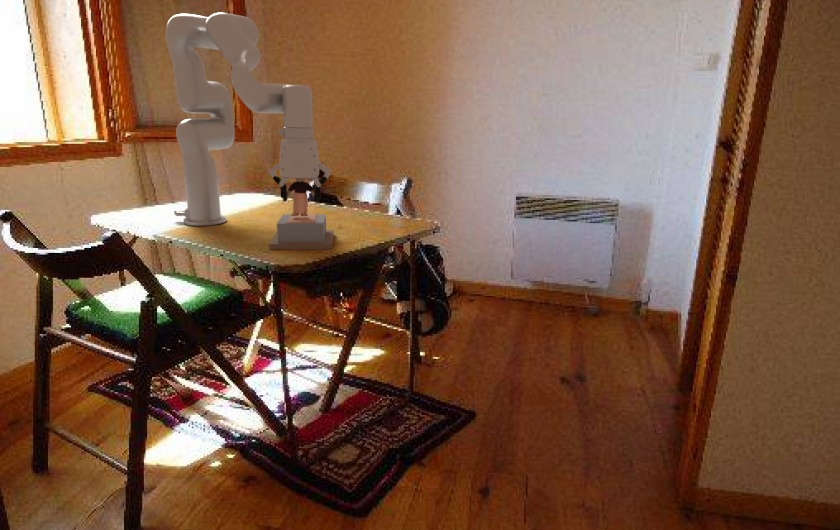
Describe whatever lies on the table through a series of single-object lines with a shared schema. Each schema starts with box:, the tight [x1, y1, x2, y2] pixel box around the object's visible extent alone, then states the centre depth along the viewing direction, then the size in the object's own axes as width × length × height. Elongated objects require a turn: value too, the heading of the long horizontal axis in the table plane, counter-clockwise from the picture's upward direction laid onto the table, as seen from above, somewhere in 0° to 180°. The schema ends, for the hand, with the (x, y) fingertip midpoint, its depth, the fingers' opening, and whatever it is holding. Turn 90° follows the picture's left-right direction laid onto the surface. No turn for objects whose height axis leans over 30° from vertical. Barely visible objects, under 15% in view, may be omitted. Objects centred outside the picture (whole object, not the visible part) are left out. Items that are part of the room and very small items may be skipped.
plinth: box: [268, 213, 335, 251], centre depth 149 cm, size 16×16×7 cm
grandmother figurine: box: [287, 179, 315, 216], centre depth 146 cm, size 8×4×13 cm, turn 107°
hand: (301, 200), depth 146 cm, fingers closed on grandmother figurine, 7 cm apart
